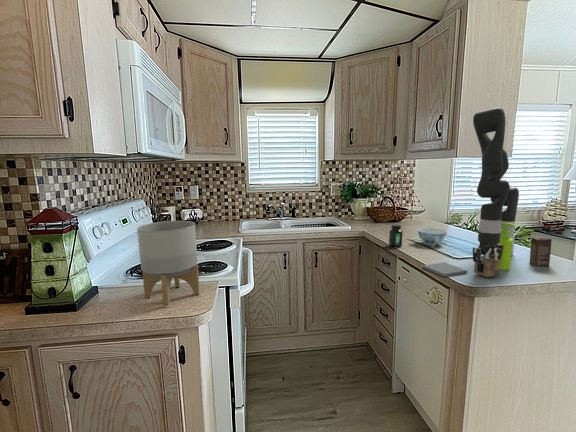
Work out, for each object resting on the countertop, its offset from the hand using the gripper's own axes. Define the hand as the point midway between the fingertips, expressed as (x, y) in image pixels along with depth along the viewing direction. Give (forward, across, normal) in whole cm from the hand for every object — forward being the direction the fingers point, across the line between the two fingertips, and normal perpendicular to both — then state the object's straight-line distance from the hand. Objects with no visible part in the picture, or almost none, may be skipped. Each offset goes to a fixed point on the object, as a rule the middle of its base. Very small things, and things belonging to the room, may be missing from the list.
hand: (486, 270), depth 128 cm
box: (+3, -34, -2) cm, 34 cm away
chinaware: (+3, -18, -49) cm, 52 cm away
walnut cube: (+1, 0, 0) cm, 1 cm away
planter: (+1, +120, -26) cm, 123 cm away
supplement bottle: (+2, +4, -52) cm, 52 cm away
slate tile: (+2, +10, -11) cm, 15 cm away
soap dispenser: (+2, -15, -4) cm, 15 cm away
